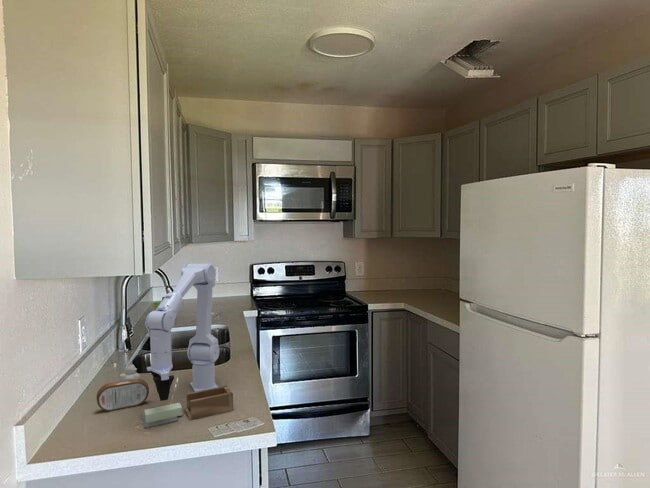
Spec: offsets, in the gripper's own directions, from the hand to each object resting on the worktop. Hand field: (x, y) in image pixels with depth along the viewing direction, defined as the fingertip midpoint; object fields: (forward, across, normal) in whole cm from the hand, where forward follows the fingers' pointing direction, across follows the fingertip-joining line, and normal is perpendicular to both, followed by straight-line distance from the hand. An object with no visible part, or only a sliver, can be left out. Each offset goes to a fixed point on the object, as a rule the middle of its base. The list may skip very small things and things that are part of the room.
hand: (162, 396), depth 125 cm
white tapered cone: (+7, -35, -7) cm, 36 cm away
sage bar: (+6, 0, 0) cm, 6 cm away
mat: (+7, 0, -1) cm, 7 cm away
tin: (+7, -14, -10) cm, 19 cm away
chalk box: (+7, -134, +18) cm, 135 cm away
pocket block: (+7, +2, +13) cm, 15 cm away
